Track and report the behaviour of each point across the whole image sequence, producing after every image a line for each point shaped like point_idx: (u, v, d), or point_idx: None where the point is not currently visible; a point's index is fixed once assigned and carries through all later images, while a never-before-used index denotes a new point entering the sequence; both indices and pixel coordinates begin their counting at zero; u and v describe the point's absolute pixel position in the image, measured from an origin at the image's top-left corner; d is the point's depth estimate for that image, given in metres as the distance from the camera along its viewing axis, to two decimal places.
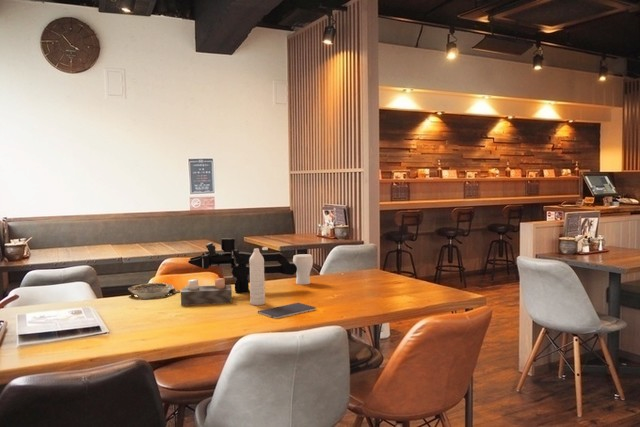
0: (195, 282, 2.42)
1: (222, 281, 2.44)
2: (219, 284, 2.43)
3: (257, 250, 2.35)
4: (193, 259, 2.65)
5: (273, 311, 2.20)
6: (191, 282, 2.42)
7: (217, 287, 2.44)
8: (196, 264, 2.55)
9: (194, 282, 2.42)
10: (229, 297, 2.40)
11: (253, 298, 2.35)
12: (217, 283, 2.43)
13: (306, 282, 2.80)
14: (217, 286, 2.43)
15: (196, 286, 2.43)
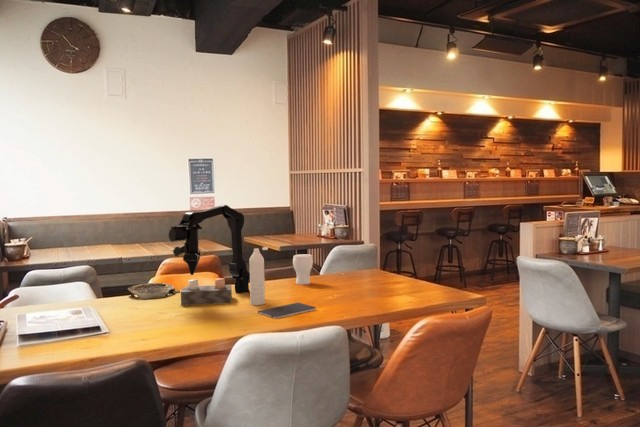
0: (195, 282, 2.42)
1: (222, 281, 2.44)
2: (219, 284, 2.43)
3: (257, 250, 2.35)
4: None
5: (273, 311, 2.20)
6: (191, 282, 2.42)
7: (217, 287, 2.44)
8: (194, 266, 2.39)
9: (194, 282, 2.42)
10: (229, 297, 2.40)
11: (253, 298, 2.35)
12: (217, 283, 2.43)
13: (306, 282, 2.80)
14: (217, 286, 2.43)
15: (196, 286, 2.43)
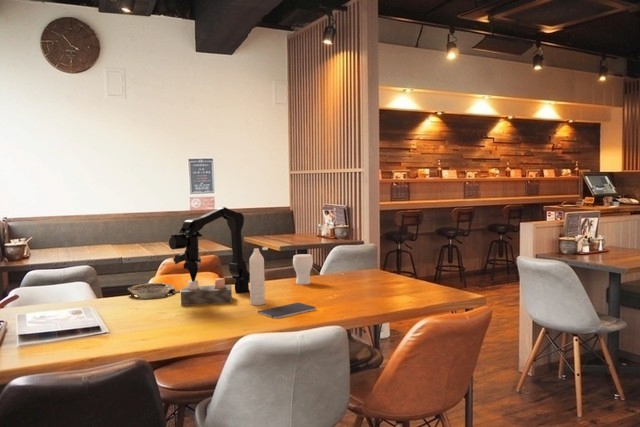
0: (195, 283, 2.42)
1: (222, 281, 2.44)
2: (219, 284, 2.43)
3: (257, 250, 2.35)
4: None
5: (273, 311, 2.20)
6: (191, 283, 2.42)
7: (217, 287, 2.44)
8: (195, 273, 2.42)
9: (194, 283, 2.42)
10: (229, 297, 2.40)
11: (253, 298, 2.35)
12: (217, 283, 2.43)
13: (306, 282, 2.80)
14: (217, 286, 2.43)
15: (196, 287, 2.43)
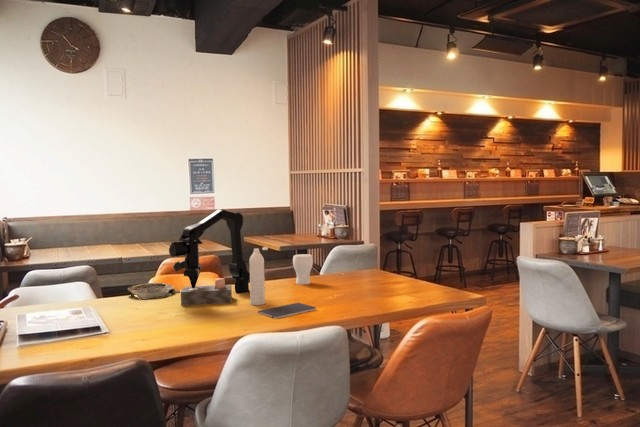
0: None
1: (222, 281, 2.44)
2: (219, 284, 2.43)
3: (257, 250, 2.35)
4: None
5: (273, 311, 2.20)
6: None
7: (217, 287, 2.44)
8: (195, 280, 2.42)
9: None
10: (229, 297, 2.40)
11: (253, 298, 2.35)
12: (217, 283, 2.43)
13: (306, 282, 2.80)
14: (217, 286, 2.43)
15: None
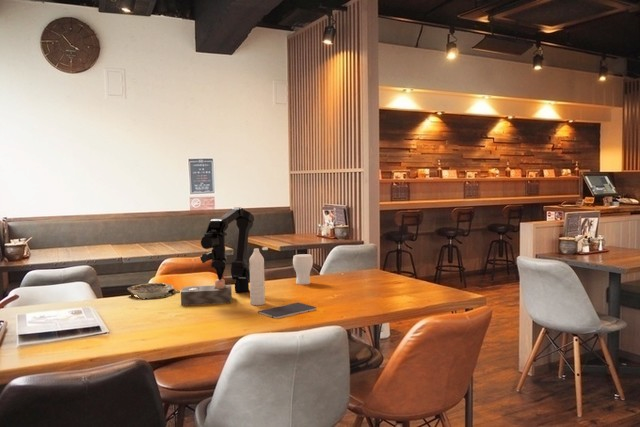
0: None
1: (222, 282, 2.44)
2: (219, 285, 2.43)
3: (257, 250, 2.35)
4: None
5: (273, 311, 2.20)
6: None
7: (217, 288, 2.44)
8: (222, 271, 2.44)
9: None
10: (229, 297, 2.40)
11: (253, 298, 2.35)
12: (217, 284, 2.43)
13: (306, 282, 2.80)
14: (217, 287, 2.43)
15: None
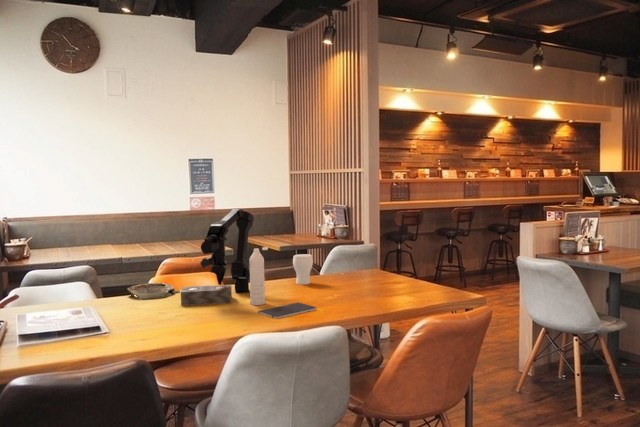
0: None
1: None
2: None
3: (257, 250, 2.35)
4: None
5: (274, 311, 2.20)
6: None
7: None
8: (222, 276, 2.44)
9: None
10: (229, 297, 2.40)
11: (253, 298, 2.35)
12: None
13: (306, 282, 2.80)
14: None
15: None
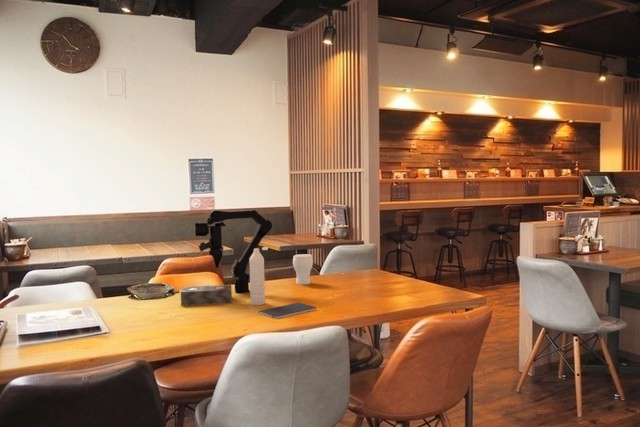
0: None
1: None
2: None
3: (257, 250, 2.35)
4: None
5: (274, 311, 2.20)
6: None
7: None
8: (219, 259, 2.59)
9: None
10: (229, 297, 2.40)
11: (253, 298, 2.35)
12: None
13: (306, 282, 2.80)
14: None
15: None
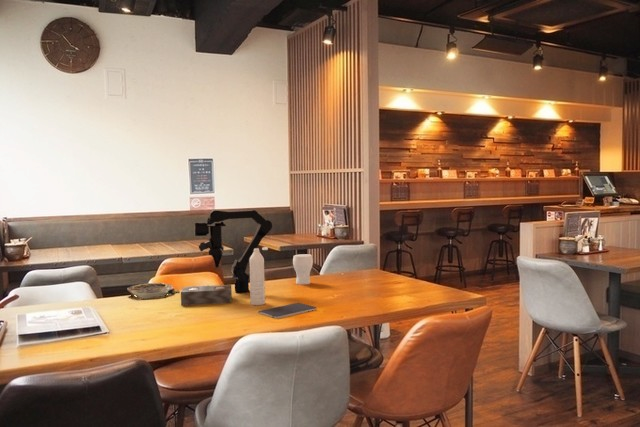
0: None
1: None
2: None
3: (257, 250, 2.35)
4: None
5: (274, 311, 2.20)
6: None
7: None
8: (219, 259, 2.59)
9: None
10: (229, 297, 2.40)
11: (253, 298, 2.35)
12: None
13: (306, 282, 2.80)
14: None
15: None
